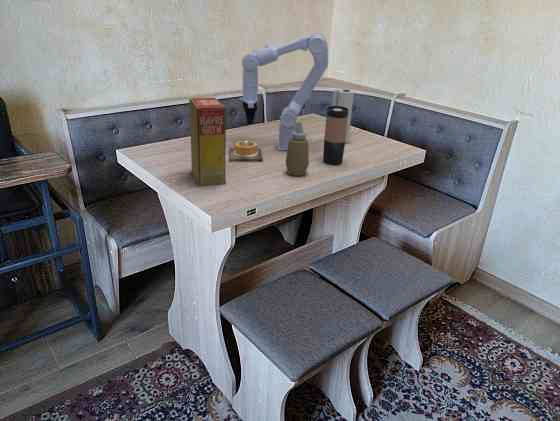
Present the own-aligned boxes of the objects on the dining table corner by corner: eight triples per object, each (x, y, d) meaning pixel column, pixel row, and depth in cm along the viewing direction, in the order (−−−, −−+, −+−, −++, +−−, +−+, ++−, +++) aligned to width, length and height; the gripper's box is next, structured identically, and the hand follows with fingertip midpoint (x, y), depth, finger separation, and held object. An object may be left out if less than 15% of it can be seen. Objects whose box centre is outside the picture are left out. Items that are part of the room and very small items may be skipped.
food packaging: (227, 183, 148) (226, 106, 136) (198, 186, 145) (195, 108, 133) (217, 169, 159) (216, 96, 148) (190, 171, 156) (187, 97, 144)
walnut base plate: (260, 150, 178) (260, 147, 177) (262, 161, 167) (262, 158, 166) (229, 150, 176) (229, 147, 176) (229, 161, 166) (229, 158, 165)
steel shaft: (248, 152, 172) (248, 139, 170) (249, 154, 170) (249, 141, 168) (242, 152, 172) (242, 139, 170) (242, 154, 170) (242, 141, 168)
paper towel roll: (350, 141, 193) (356, 90, 183) (344, 145, 188) (350, 92, 179) (335, 138, 196) (340, 87, 186) (328, 141, 191) (333, 90, 182)
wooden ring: (256, 148, 176) (256, 140, 175) (257, 155, 169) (257, 147, 168) (235, 148, 175) (235, 140, 174) (235, 155, 168) (235, 147, 167)
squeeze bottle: (300, 179, 154) (304, 127, 145) (280, 173, 157) (282, 122, 149) (312, 172, 160) (316, 121, 152) (292, 167, 163) (295, 117, 155)
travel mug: (344, 160, 172) (350, 107, 163) (340, 167, 166) (346, 112, 157) (325, 157, 174) (329, 104, 165) (319, 163, 168) (324, 109, 159)
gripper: (239, 82, 179) (239, 116, 185) (240, 90, 166) (240, 126, 172) (257, 82, 180) (256, 116, 186) (259, 90, 167) (258, 127, 173)
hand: (249, 121), depth 179 cm, fingers open, 4 cm apart
